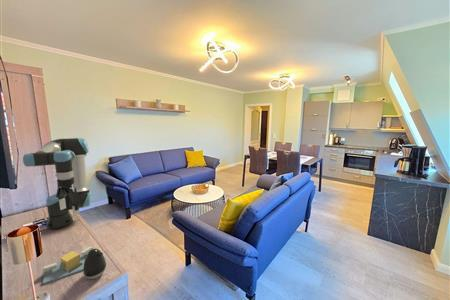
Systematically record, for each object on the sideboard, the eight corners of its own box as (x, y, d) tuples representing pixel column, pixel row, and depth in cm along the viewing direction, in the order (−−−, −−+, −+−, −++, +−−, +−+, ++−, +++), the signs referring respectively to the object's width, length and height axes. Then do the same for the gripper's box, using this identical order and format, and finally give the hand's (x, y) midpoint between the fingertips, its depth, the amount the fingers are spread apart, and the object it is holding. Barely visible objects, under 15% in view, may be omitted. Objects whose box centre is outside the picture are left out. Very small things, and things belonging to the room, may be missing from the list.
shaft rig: (46, 267, 107) (45, 259, 106) (94, 251, 119) (93, 244, 118) (42, 285, 96) (41, 276, 95) (95, 266, 109) (94, 258, 108)
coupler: (59, 268, 105) (57, 259, 104) (76, 258, 112) (75, 249, 111) (65, 272, 103) (64, 263, 101) (82, 262, 110) (81, 253, 109)
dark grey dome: (96, 284, 98) (93, 258, 95) (79, 280, 100) (75, 255, 97) (111, 268, 108) (109, 245, 105) (95, 265, 109) (92, 241, 106)
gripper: (45, 175, 111) (50, 209, 116) (70, 184, 101) (75, 220, 106) (60, 172, 118) (65, 204, 122) (85, 180, 108) (89, 214, 112)
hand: (69, 211), depth 114 cm, fingers open, 13 cm apart
